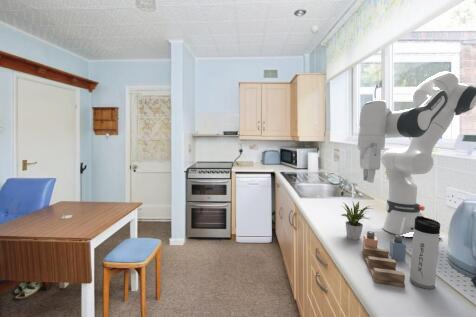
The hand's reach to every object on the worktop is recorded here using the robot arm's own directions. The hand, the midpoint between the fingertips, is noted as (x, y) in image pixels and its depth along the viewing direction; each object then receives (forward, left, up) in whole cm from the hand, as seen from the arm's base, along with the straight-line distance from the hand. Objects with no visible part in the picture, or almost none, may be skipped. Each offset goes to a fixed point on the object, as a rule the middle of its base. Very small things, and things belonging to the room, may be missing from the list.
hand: (368, 181), depth 94 cm
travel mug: (-13, +16, -28) cm, 35 cm away
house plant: (0, -15, -28) cm, 32 cm away
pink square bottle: (-3, -2, -28) cm, 28 cm away
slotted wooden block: (-4, +10, -28) cm, 30 cm away
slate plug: (-12, -1, -28) cm, 30 cm away
